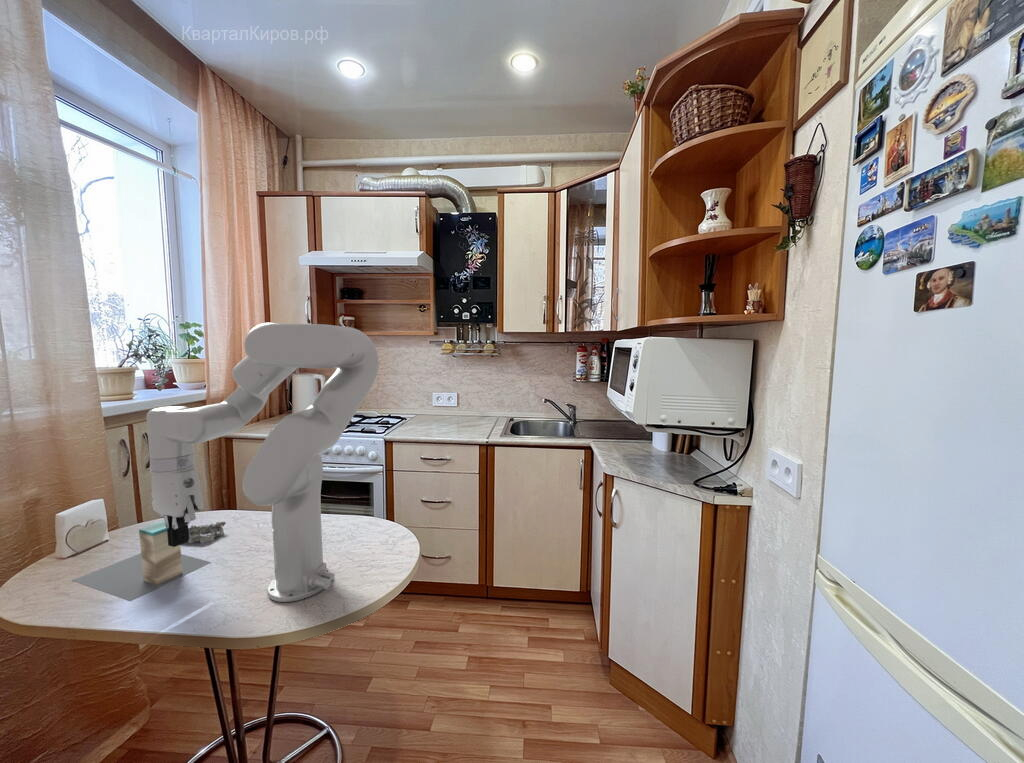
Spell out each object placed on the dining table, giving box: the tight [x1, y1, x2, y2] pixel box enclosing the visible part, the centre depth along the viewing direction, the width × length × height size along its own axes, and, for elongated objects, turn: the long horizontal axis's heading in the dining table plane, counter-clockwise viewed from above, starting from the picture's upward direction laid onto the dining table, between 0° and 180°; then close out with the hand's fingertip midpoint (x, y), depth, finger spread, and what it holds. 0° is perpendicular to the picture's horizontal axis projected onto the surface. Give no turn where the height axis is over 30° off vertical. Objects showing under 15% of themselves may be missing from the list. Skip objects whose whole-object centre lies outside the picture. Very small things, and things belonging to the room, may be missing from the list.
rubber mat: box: [71, 552, 212, 602], centre depth 94 cm, size 22×16×1 cm
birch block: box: [138, 520, 182, 585], centre depth 91 cm, size 5×5×12 cm
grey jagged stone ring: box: [187, 521, 227, 544], centre depth 110 cm, size 11×8×4 cm
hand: (178, 543), depth 88 cm, fingers closed
